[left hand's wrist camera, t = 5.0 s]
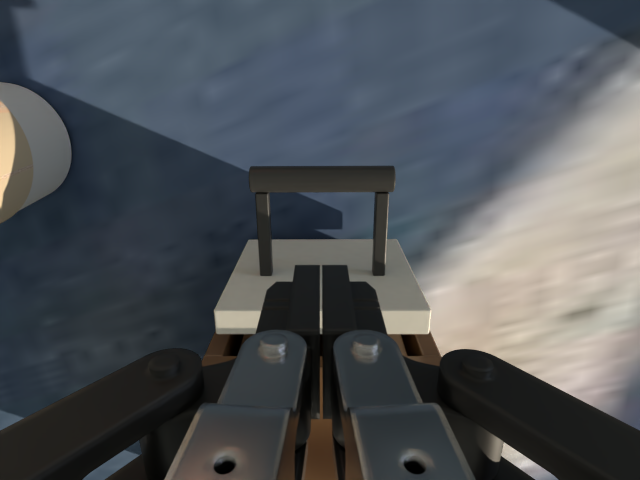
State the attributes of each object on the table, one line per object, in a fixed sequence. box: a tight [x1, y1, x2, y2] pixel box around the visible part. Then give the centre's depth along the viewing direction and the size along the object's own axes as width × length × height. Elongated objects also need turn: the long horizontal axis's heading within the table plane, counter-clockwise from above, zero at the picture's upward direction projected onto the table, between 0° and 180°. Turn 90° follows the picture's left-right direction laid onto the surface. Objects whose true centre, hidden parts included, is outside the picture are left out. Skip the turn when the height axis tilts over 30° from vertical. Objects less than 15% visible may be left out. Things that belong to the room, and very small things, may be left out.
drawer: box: [214, 166, 431, 356], centre depth 24 cm, size 25×9×9 cm, turn 0°
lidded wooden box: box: [202, 330, 442, 480], centre depth 26 cm, size 20×10×11 cm, turn 0°
